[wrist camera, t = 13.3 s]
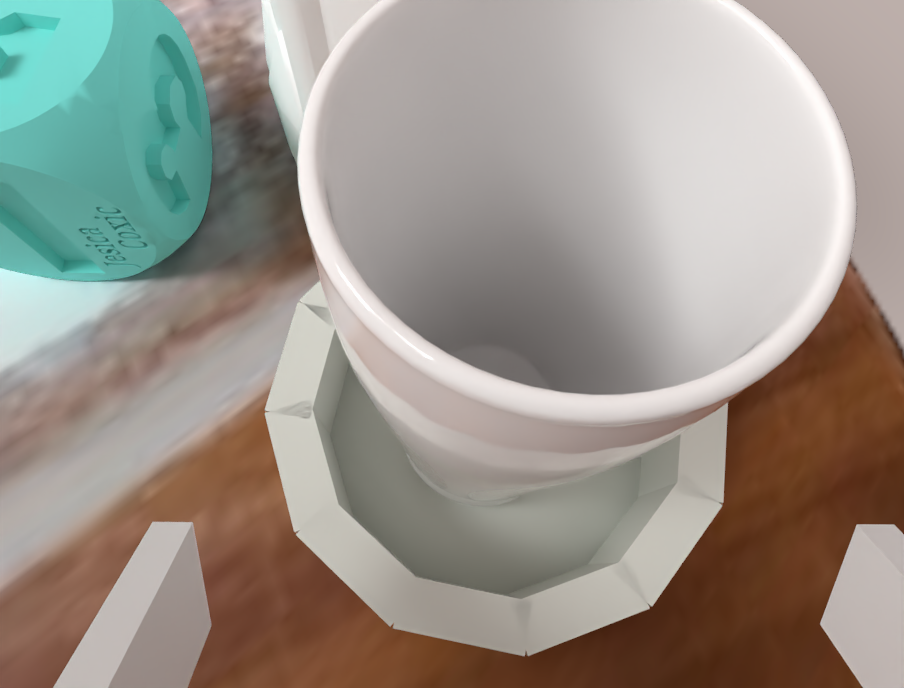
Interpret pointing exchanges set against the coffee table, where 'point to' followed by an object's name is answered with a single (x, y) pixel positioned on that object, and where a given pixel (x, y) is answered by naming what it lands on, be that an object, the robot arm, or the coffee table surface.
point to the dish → (477, 515)
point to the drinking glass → (567, 225)
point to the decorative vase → (302, 50)
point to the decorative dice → (98, 137)
